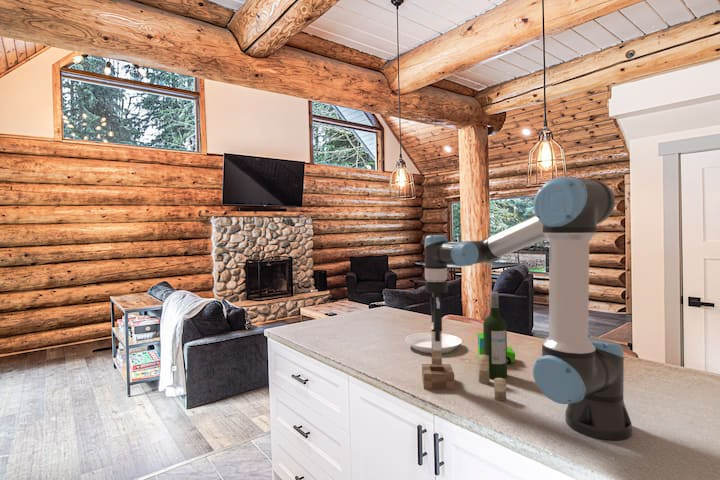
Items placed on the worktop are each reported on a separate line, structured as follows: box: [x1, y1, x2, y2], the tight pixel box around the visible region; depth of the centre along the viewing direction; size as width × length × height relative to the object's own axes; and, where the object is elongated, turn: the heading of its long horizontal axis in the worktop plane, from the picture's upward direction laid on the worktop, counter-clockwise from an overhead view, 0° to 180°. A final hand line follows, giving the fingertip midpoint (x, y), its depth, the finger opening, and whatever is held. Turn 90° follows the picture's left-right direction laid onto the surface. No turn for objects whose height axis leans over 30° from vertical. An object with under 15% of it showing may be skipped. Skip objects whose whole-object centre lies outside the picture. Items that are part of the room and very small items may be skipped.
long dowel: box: [430, 322, 443, 365], centre depth 137 cm, size 3×3×14 cm
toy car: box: [477, 332, 516, 366], centre depth 159 cm, size 10×13×10 cm
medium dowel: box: [478, 355, 490, 385], centre depth 138 cm, size 3×3×9 cm
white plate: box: [405, 332, 463, 354], centre depth 180 cm, size 25×25×4 cm
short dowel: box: [493, 378, 507, 402], centre depth 124 cm, size 3×3×6 cm
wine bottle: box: [482, 291, 508, 380], centre depth 143 cm, size 8×8×30 cm
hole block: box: [421, 363, 456, 390], centre depth 137 cm, size 10×10×5 cm
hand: (436, 348), depth 137 cm, fingers closed on long dowel, 3 cm apart
